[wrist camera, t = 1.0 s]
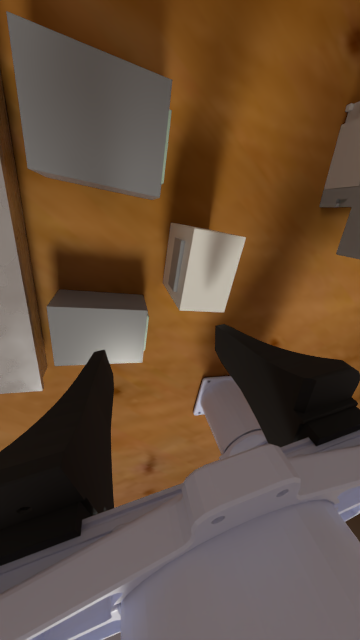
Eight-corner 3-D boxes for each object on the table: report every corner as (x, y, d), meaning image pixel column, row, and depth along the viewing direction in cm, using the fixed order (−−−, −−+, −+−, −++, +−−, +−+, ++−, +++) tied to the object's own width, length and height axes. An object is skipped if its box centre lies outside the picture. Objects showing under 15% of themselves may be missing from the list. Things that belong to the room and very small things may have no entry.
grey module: (208, 229, 20) (245, 237, 14) (196, 285, 23) (224, 312, 17) (167, 221, 19) (190, 227, 13) (160, 282, 22) (175, 310, 16)
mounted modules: (163, 110, 15) (177, 82, 12) (141, 341, 24) (145, 362, 21) (36, 64, 13) (6, 11, 9) (64, 341, 22) (54, 365, 18)
